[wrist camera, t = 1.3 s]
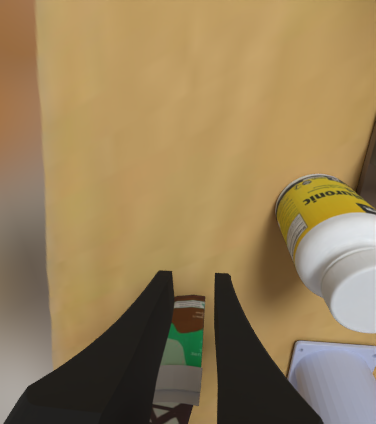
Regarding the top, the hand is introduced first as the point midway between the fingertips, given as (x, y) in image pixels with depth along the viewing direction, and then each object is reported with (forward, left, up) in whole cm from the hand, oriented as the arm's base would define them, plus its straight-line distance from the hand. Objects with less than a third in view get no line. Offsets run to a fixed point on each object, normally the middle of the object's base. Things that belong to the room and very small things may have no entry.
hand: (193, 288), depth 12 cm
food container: (-14, +4, -10) cm, 17 cm away
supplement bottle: (0, -8, -10) cm, 12 cm away
